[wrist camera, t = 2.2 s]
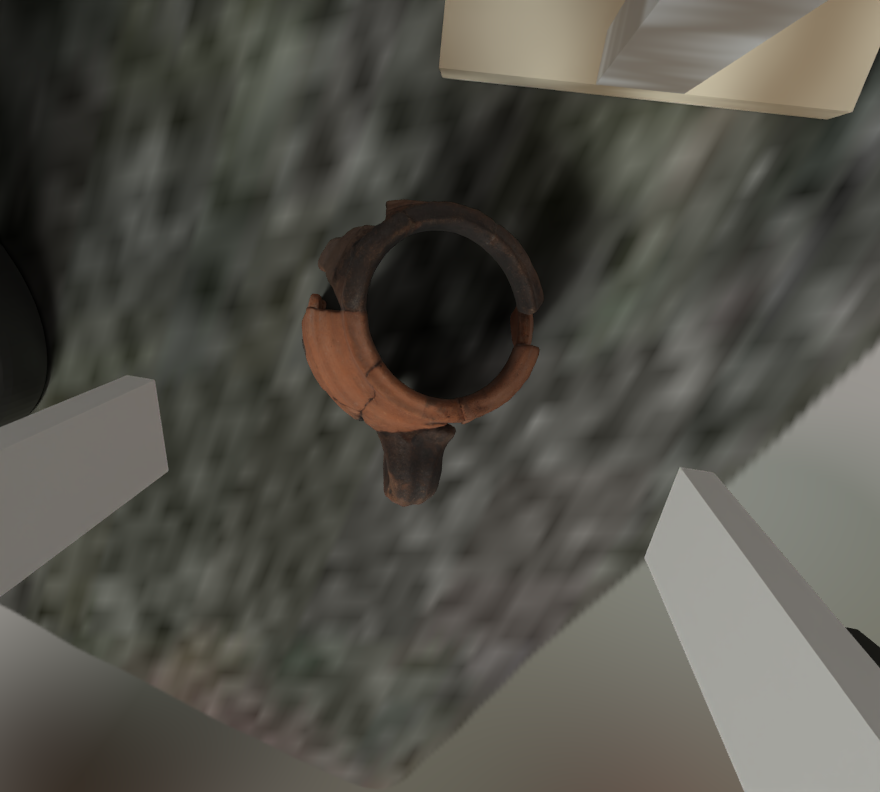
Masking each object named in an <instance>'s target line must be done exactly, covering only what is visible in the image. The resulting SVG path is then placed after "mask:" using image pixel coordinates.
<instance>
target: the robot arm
mask: <svg viewBox="0 0 880 792" xmlns="http://www.w3.org/2000/svg"><path fill="white" fill-rule="evenodd" d="M46 373H47V348H46V341H45V335H44V331H43V326H42V323H41V319H40V316H39V313H38V310H37V308H36V305H35V302H34V300H33V298H32V295H31V293H30V291H29V289H28V287H27V285H26V283H25V281H24V279H23V277H22V276H21V274H20V272H19V270H18V269H17V267H16V265H15V264H14V262H13V261H12V259H11V258H10V256H9V255H8V253H7V252H6V250H5V249H4V247H3V246H2V245H1V244H0V597H1V596H2V595H3V594H5V593H6V592H7V591H9V590H10V589H11V588H13V587H14V586H15V585H17V584H18V583H19V582H21V581H22V580H23V579H25V578H26V577H27V576H29V575H30V574H31V573H33V572H34V571H35V570H37V569H38V568H39V567H41V566H42V565H43V564H45V563H46V562H47V561H49V560H50V559H51V558H53V557H54V556H55V555H57V554H58V553H59V552H61V551H62V550H63V549H65V548H66V547H67V546H69V545H70V544H71V543H73V542H74V541H75V540H77V539H78V538H79V537H81V536H82V535H83V534H85V533H86V532H87V531H89V530H90V529H91V528H93V527H94V526H95V525H97V524H98V523H99V522H101V521H102V520H103V519H105V518H106V517H108V516H109V515H110V514H112V513H113V512H114V511H116V510H117V509H118V508H120V507H121V506H122V505H124V504H125V503H126V502H128V501H129V500H130V499H132V498H133V497H134V496H136V495H137V494H138V493H140V492H141V491H142V490H144V489H145V488H146V487H148V486H149V485H150V484H152V483H153V482H154V481H156V480H157V479H158V478H160V477H161V476H162V475H164V474H165V473H166V472H168V464H167V458H166V451H165V444H164V438H163V431H162V424H161V418H160V411H159V404H158V398H157V391H156V384H155V380H153V379H147V378H141V377H135V376H129V375H126V376H124V377H121V378H119V379H117V380H114V381H112V382H109V383H107V384H104V385H102V386H99V387H97V388H95V389H92V390H90V391H87V392H85V393H82V394H80V395H78V396H75V397H73V398H70V399H68V400H65V401H63V402H60V403H58V404H56V405H53V406H51V407H48V408H46V409H43V410H41V411H39V412H36V413H34V414H31V415H29V416H27V415H28V414H29V413H30V412H31V411H32V410H33V408H34V407H35V405H36V404H37V402H38V400H39V398H40V396H41V394H42V391H43V388H44V384H45V380H46ZM644 558H645V560H646V563H647V565H648V567H649V570H650V572H651V574H652V577H653V579H654V581H655V584H656V586H657V588H658V591H659V593H660V595H661V598H662V600H663V602H664V604H665V607H666V609H667V612H668V614H669V616H670V619H671V621H672V623H673V626H674V628H675V630H676V633H677V635H678V637H679V640H680V642H681V644H682V647H683V649H684V652H685V654H686V656H687V659H688V661H689V663H690V666H691V668H692V670H693V672H694V675H695V677H696V680H697V682H698V684H699V687H700V689H701V691H702V694H703V696H704V698H705V701H706V703H707V705H708V708H709V710H710V712H711V715H712V717H713V719H714V722H715V724H716V726H717V729H718V731H719V734H720V736H721V738H722V740H723V743H724V745H725V747H726V750H727V752H728V755H729V757H730V759H731V761H732V763H733V766H734V769H735V771H736V773H737V775H738V778H739V780H740V782H741V785H742V787H743V790H744V792H880V647H879V646H877V645H876V644H875V643H874V642H872V641H871V640H870V639H869V638H867V637H866V636H865V635H864V634H862V633H861V632H860V631H859V630H857V629H852V628H846V627H844V625H843V624H842V623H841V622H840V621H839V619H838V618H836V616H835V615H834V614H833V612H832V611H831V610H830V609H829V608H828V607H827V605H826V604H825V603H824V602H823V601H822V599H821V598H820V597H819V596H818V595H817V594H816V592H815V591H814V590H813V589H812V588H811V586H810V585H809V584H808V583H807V582H806V581H805V579H804V578H803V577H802V576H801V575H800V574H799V573H798V571H797V570H796V569H795V568H794V567H793V565H792V564H791V563H790V562H789V561H788V559H787V558H786V557H785V556H784V555H783V553H782V552H781V551H780V550H779V549H778V548H777V546H776V545H775V544H774V543H773V542H772V541H771V539H770V538H769V537H768V536H767V535H766V533H764V531H763V530H762V529H761V528H760V526H759V525H758V524H757V523H756V522H755V521H754V519H753V518H752V517H751V516H750V515H749V514H748V512H747V511H746V510H745V509H744V508H743V507H742V505H741V504H740V503H739V502H738V501H737V499H736V498H735V497H734V496H733V495H732V493H731V492H730V491H729V490H728V489H727V488H726V486H725V485H724V484H723V483H722V482H721V480H720V479H719V478H718V477H717V476H716V475H715V473H714V472H708V471H702V470H696V469H690V468H684V467H680V468H679V470H678V473H677V476H676V478H675V481H674V483H673V486H672V488H671V491H670V494H669V496H668V499H667V501H666V504H665V506H664V509H663V511H662V514H661V517H660V519H659V522H658V524H657V527H656V529H655V532H654V534H653V537H652V540H651V542H650V545H649V547H648V550H647V552H646V555H645V557H644Z"/></svg>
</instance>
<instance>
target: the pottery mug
mask: <svg viewBox="0 0 880 792" xmlns="http://www.w3.org/2000/svg"><path fill="white" fill-rule="evenodd" d="M386 208H387V209H386V219H385V221H383V222H382V223H381V224H379V225H376V226H371V225H364V226H362V227H356V228H353V229H351V230H350V231H348V232H347V233H346V234H345V235H344V236H343V237H339V238H334V239H332V240H330V241H329V242H328V244H327V246H326V247H325V249H324V250H323V252H322V254H321V256H320V258H319V260H318V266H319V268H320V269H321V270H322V271H324V272H326V277H327V279H328V281H329V283H330V284H331V286H332V287H333V289H334V292H335V295H336V297H337V299H338V302H339V304H340V306H341V310H326V302H325V301H324V300H322V298H321V296H320V295H318V294H312V295H311V297H310V300H309V304H308V307H307V309H306V313H305V315H304V317H303V320H302V332H303V339H302V343H303V348H304V351H305V355H306V358H307V361H308V364H309V366H310V368H311V370H312V372H313V374H314V376H315V378H316V380H317V381H318V383H319V384H320V386H321V387H322V389H324V390H325V391H326V392H327V393H328V394H329V396H330V397H331V398H332V399H333V400H334V401H335V402H336V403H337V405H338V406H340V407H341V408H342V409H343V410H344V411H345V412H346V413H348V414H349V415H350V416H351V417H353V418H354V419H356V420H359V421H365V423H366V424H368V425H369V426H371V427H372V428H373V429H375V430H376V431H377V434H378V436H379V438H380V441H381V444H382V447H383V451H384V462H383V476H384V493H385V495H386V496H387V497H388V498H389V499H390V500H391V501H392V502H395V503H397V504H399V505H401V506H404V507H405V506H409V505H412V504H421V503H423V502H425V501H426V500H427V499H428V498H430V497H431V496H432V495H434V493H435V492H436V490H437V488H438V484H439V480H440V476H441V471H442V457H443V453H444V449H445V447H446V445H447V444H448V442H449V441H450V440H451V439H452V438H453V437H454V435H455V432H456V430H455V427H453V426H451V425H450V424H448V423H460V422H461V423H462V424H465V423H468V422H470V421H472V420H473V419H475V418H478V417H481V416H483V415H484V414H486V413H489V412H491V411H493V410H495V409H497V408H498V407H500V406H501V405H503V404H504V403H505V402H507V401H508V400H510V399H511V398H512V396H513V395H514V394H515V393H516V392H517V391H518V390H519V389H520V388H521V387H522V385H523V384H524V382H525V381H526V380H527V379H528V378H529V376H530V374H531V371H532V369H533V367H534V365H535V363H536V360H537V358H538V355H539V348H538V347H536V346H533V345H530V344H531V341H532V333H533V313H535V312H537V310H538V309H539V308H540V306H541V305H542V303H543V301H544V296H543V290H542V287H541V284H540V280H539V278H538V275H537V272H536V271H535V269H534V267H533V265H532V263H531V261H530V258H529V256H528V254H527V253H526V252H525V250H524V249H523V247H522V246H521V244H520V243H519V242H518V240H517V239H516V238H515V237H514V236H513V235H512V234H511V233H509V232H508V231H507V230H506V229H505V228H504V227H503V226H501V225H499V224H495V222H494V221H493V219H492V218H490V217H488V216H486V215H485V214H483V213H482V212H480V211H479V210H476V209H472V208H469V207H467V206H464V205H460V204H457V203H453V202H445V201H442V202H436V201H433V202H424V201H416V200H393V201H387V202H386ZM425 231H446V232H452V233H456V234H459V235H462V236H465V237H467V238H469V239H470V240H472V241H474V242H476V243H477V244H478V245H480V246H481V247H482V248H483V249H484V250H485V251H487V252H488V253H489V254H490V255H491V256H492V257H493V258H494V259H495V260H496V262H497V263H498V264H499V265H500V267H501V268H502V270H503V271H504V273H505V274H506V276H507V278H508V280H509V283H510V285H511V288H512V290H513V293H514V297H515V300H516V305H517V306H516V308H515V310H514V311H513V312H512V314H511V318H510V325H511V335H512V342H513V345H514V347H513V349H512V352H511V355H510V357H509V359H508V361H507V363H506V365H505V366H504V368H503V369H502V370H501V372H500V373H499V375H498V376H497V377H496V378H495V379H494V380H493V381H492V382H491V383H490V384H488V385H487V386H486V387H484V388H483V389H481V390H479V391H477V392H475V393H473V394H471V395H468V396H464V397H459V398H455V399H440V398H435V397H430V396H426V395H423V394H421V393H418V392H416V391H414V390H413V389H411V388H409V387H408V386H406V385H405V384H404V383H402V382H401V381H400V380H398V379H397V378H396V377H395V376H394V375H393V374H392V373H391V371H390V370H389V369H388V368H387V367H386V365H385V364H384V363H383V361H382V359H381V357H380V355H379V354H378V352H377V350H376V348H375V345H374V343H373V340H372V337H371V334H370V330H369V325H368V315H367V311H366V302H367V295H368V289H369V285H370V282H371V279H372V276H373V274H374V272H375V270H376V268H377V266H378V265H379V263H380V262H381V260H382V259H383V257H384V256H385V255H386V253H387V252H388V251H389V250H390V249H391V248H392V247H393V246H395V245H396V244H397V243H398V242H400V241H401V240H403V239H404V238H405V237H407V236H410V235H413V234H416V233H420V232H425Z"/></svg>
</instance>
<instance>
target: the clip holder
mask: <svg viewBox="0 0 880 792" xmlns="http://www.w3.org/2000/svg"><path fill="white" fill-rule="evenodd" d="M879 47H880V0H445V10H444V20H443V31H442V41H441V52H440V62H439V69H440V72H441V75H442V77H443V78H448V79H458V80H467V81H476V82H485V83H495V84H504V85H513V86H522V87H532V88H541V89H550V90H559V91H569V92H578V93H587V94H596V95H606V96H615V97H624V98H633V99H643V100H652V101H661V102H670V103H680V104H689V105H698V106H707V107H717V108H726V109H735V110H744V111H754V112H763V113H772V114H781V115H791V116H800V117H809V118H818V119H830V118H833V117H837V116H840V115H844V114H847V113H850V112H853V109H854V107H855V104H856V102H857V100H858V97H859V95H860V93H861V90H862V88H863V85H864V83H865V81H866V78H867V76H868V74H869V71H870V69H871V66H872V64H873V62H874V59H875V57H876V54H877V52H878V50H879Z"/></svg>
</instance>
